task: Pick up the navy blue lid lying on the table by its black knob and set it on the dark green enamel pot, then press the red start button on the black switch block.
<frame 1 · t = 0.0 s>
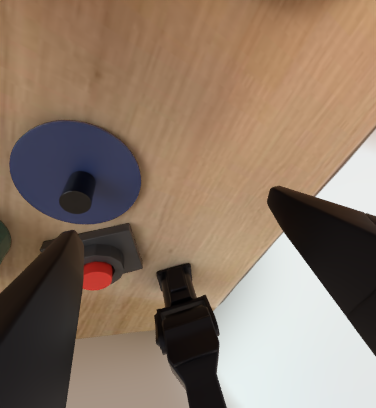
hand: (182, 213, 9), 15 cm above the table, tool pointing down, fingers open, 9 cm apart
start button: (96, 275, 25), point 4 cm above the table, slide at 0.1 cm
switch block: (99, 252, 28), on the table
lid: (83, 179, 21), point 1 cm above the table
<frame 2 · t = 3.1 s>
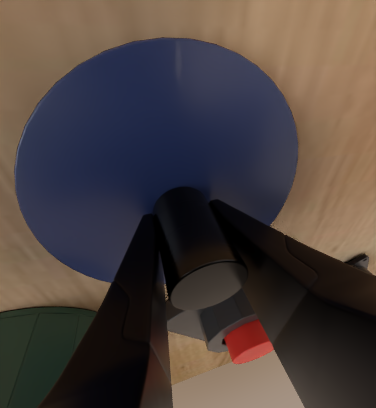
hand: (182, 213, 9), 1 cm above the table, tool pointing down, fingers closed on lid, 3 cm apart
pot: (40, 346, 15), on the table
start button: (251, 339, 15), point 4 cm above the table, slide at 0.1 cm
switch block: (229, 291, 18), on the table
lid: (177, 203, 9), point 1 cm above the table, touching gripper
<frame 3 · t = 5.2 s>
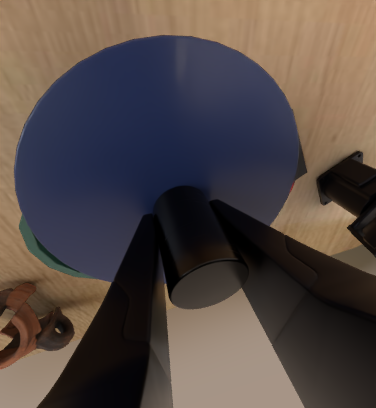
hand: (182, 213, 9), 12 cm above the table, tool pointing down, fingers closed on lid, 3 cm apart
pot: (114, 192, 20), on the table
broken clay ring: (33, 300, 27), on the table
start button: (270, 186, 20), point 4 cm above the table, slide at 0.1 cm
lid: (178, 202, 9), point 11 cm above the table, touching gripper
when the fingers open (7 cm above the table, at t = 7.3 s): lid stays where it is, resting on pot.
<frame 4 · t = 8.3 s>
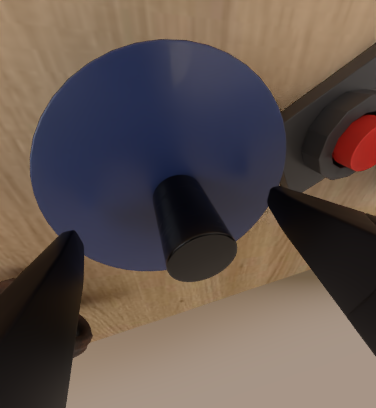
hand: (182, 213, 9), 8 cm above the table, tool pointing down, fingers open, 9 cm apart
broken clay ring: (40, 295, 22), on the table
start button: (364, 143, 15), point 4 cm above the table, slide at 0.1 cm
switch block: (323, 129, 18), on the table
lid: (175, 191, 10), point 6 cm above the table, touching pot
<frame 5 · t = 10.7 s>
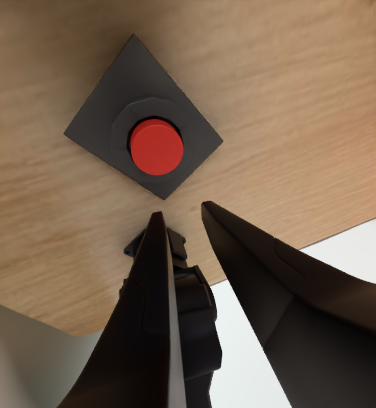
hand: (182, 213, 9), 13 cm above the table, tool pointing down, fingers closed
start button: (156, 148, 15), point 4 cm above the table, slide at 0.1 cm
switch block: (151, 133, 18), on the table
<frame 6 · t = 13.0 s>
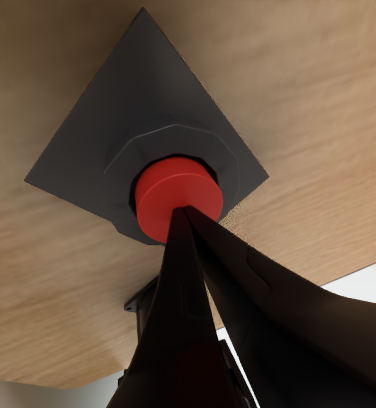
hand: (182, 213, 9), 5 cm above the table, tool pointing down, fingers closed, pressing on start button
start button: (178, 202, 9), point 4 cm above the table, slide at 0.0 cm, touching gripper
switch block: (164, 167, 12), on the table
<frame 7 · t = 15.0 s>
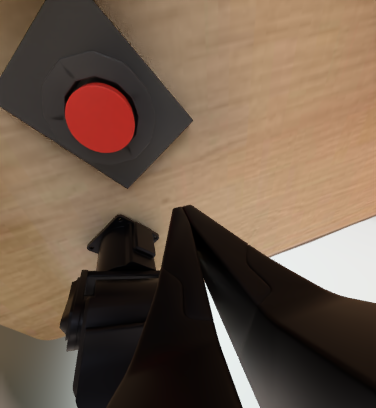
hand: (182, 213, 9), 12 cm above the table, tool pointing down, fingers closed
start button: (102, 119, 13), point 4 cm above the table, slide at 0.1 cm
switch block: (106, 107, 16), on the table
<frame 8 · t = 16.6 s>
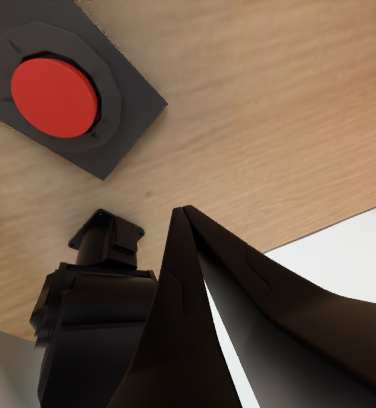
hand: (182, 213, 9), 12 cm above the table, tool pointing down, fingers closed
start button: (59, 100, 11), point 4 cm above the table, slide at 0.1 cm
switch block: (73, 91, 15), on the table
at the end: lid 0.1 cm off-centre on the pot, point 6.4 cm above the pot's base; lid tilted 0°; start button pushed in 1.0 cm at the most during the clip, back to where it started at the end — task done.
